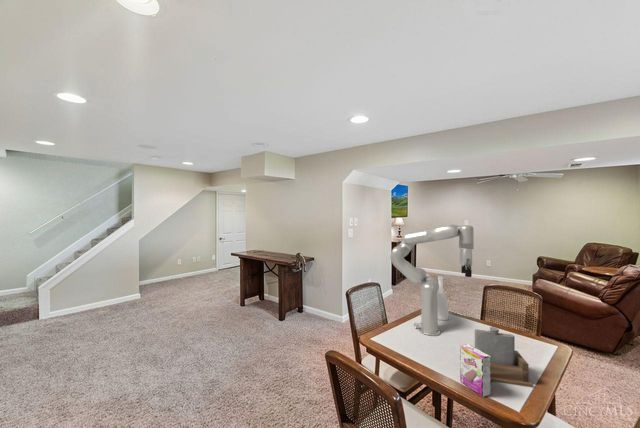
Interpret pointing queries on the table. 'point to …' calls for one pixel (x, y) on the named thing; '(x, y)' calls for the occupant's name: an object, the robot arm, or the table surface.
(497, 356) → the hip flask
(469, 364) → the candy bar box
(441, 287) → the white tall cylinder
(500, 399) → the table surface
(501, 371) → the brown rectangular open tray
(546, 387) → the table surface
